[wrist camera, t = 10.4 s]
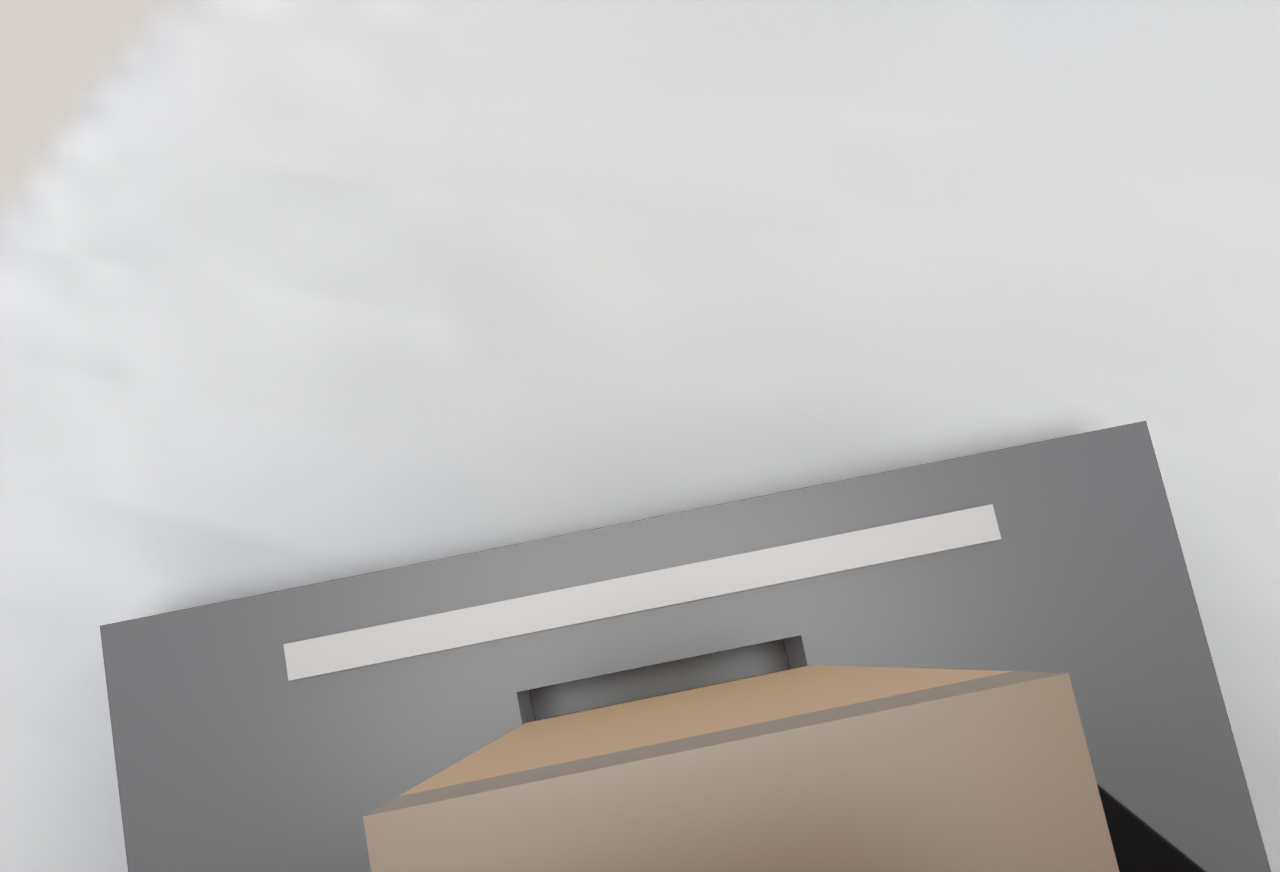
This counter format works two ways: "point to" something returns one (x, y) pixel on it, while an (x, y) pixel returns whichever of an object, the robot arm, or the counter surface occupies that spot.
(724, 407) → the counter surface
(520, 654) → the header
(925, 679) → the plug
